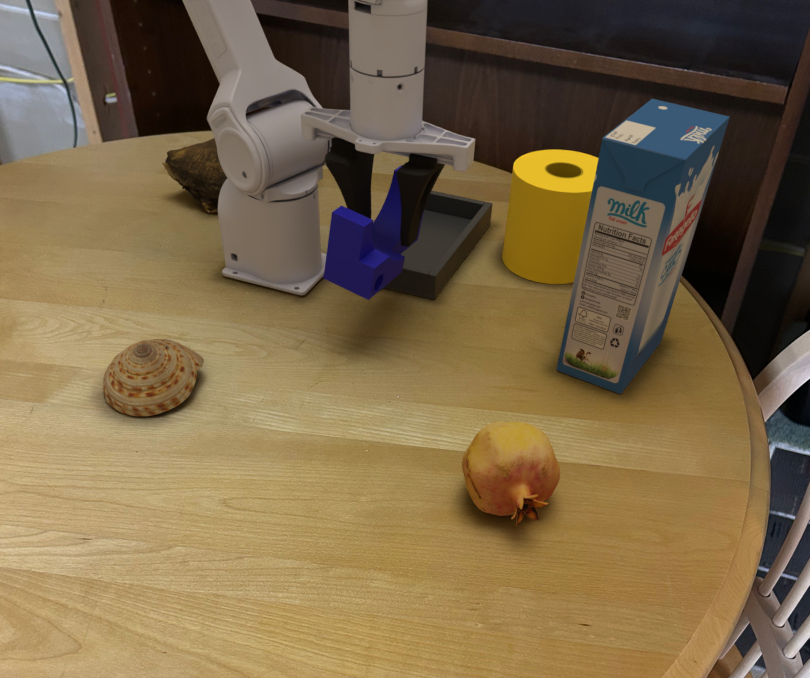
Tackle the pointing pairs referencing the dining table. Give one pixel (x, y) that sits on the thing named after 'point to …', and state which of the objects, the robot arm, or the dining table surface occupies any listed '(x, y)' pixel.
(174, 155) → the seashell
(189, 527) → the dining table surface
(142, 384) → the seashell
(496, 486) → the fruit
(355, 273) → the blue piece
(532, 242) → the yellow toilet paper roll
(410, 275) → the holder
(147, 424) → the dining table surface
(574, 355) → the milk carton
